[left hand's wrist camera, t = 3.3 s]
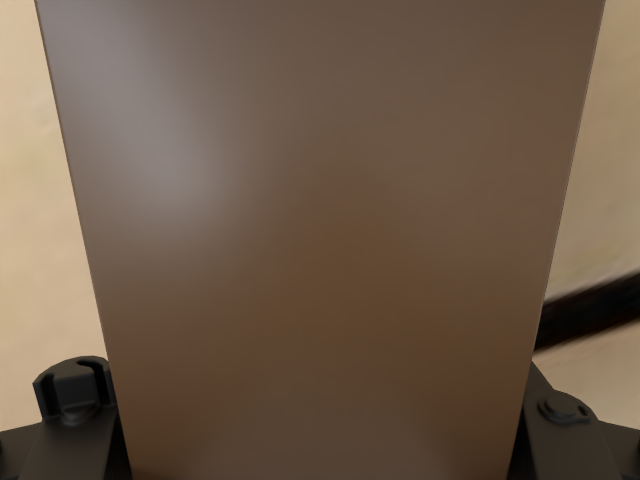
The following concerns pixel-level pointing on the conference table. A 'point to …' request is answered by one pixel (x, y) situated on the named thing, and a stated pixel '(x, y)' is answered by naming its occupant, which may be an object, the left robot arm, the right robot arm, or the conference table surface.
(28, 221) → the conference table surface
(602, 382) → the conference table surface
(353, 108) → the bar
